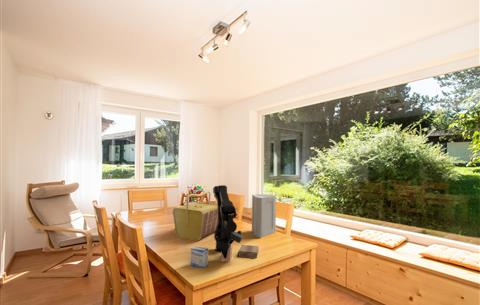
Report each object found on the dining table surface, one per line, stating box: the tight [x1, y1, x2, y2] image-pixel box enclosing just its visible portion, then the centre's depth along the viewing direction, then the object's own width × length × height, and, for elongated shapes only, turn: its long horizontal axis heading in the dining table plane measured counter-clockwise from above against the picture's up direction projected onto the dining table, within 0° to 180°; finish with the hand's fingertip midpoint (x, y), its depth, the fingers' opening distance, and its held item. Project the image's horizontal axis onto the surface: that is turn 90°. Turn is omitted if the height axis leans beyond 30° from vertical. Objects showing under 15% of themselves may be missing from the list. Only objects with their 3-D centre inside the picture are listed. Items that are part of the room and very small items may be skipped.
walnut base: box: [238, 244, 259, 259], centre depth 136 cm, size 10×10×3 cm
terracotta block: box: [220, 246, 233, 262], centre depth 128 cm, size 5×5×6 cm
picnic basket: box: [172, 190, 218, 242], centre depth 170 cm, size 29×26×30 cm
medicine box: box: [189, 245, 209, 269], centre depth 120 cm, size 8×4×9 cm, turn 69°
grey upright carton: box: [251, 193, 277, 239], centre depth 176 cm, size 19×15×28 cm
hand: (226, 256), depth 128 cm, fingers closed on terracotta block, 5 cm apart
